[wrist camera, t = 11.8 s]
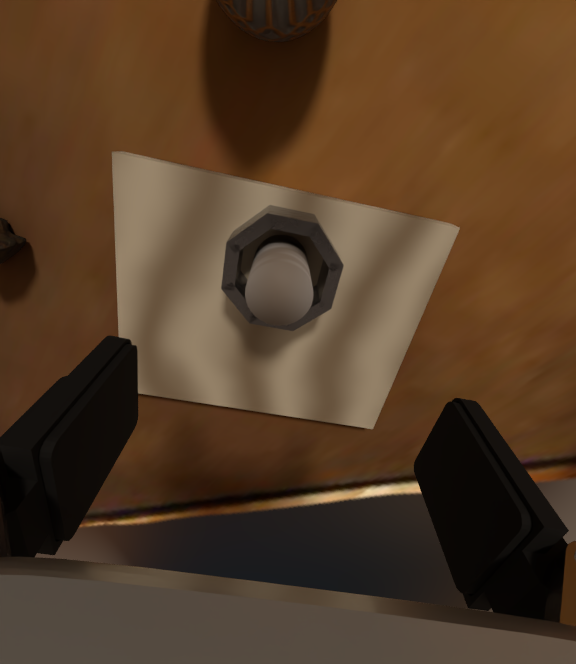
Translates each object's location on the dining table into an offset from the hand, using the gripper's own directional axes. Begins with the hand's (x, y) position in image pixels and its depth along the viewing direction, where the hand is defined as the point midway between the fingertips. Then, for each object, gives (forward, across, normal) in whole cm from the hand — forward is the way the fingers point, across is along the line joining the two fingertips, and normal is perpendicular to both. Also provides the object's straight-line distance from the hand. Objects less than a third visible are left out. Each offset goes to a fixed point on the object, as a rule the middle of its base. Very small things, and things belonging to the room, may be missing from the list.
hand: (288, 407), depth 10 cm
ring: (+15, +1, 0) cm, 15 cm away
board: (+16, +1, +5) cm, 17 cm away
